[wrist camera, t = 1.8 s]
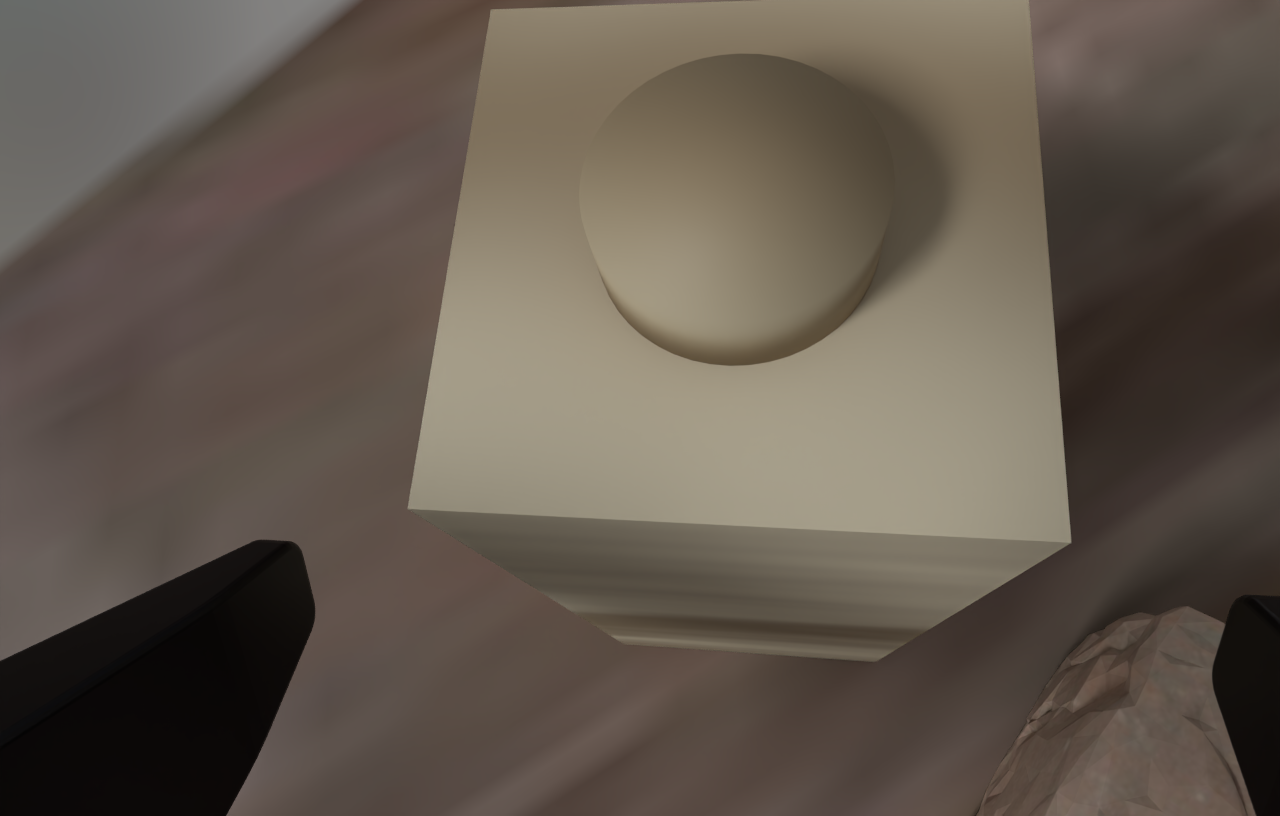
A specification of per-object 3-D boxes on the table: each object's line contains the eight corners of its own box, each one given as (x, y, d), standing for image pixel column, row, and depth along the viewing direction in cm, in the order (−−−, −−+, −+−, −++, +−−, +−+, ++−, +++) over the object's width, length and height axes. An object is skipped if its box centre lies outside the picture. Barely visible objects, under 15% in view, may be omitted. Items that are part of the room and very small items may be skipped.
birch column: (875, 662, 18) (1112, 517, 6) (624, 643, 18) (365, 483, 6) (873, 421, 19) (1055, -84, 7) (643, 413, 20) (466, -57, 8)
